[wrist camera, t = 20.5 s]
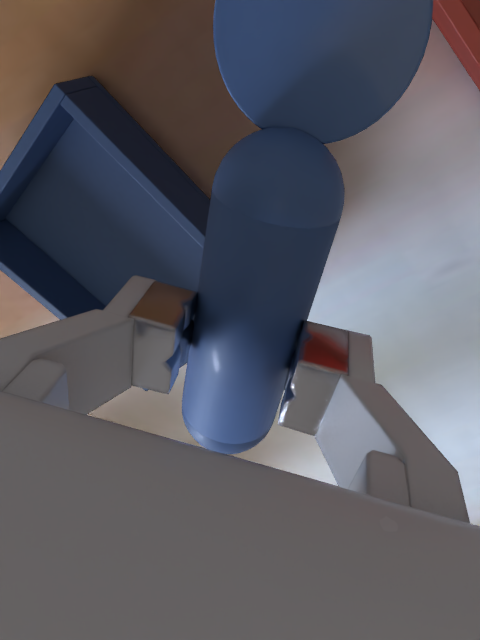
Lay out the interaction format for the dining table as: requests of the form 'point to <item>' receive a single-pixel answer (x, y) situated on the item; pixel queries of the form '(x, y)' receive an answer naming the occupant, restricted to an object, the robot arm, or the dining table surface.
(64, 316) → the blue bin
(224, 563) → the robot arm
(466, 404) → the dining table surface
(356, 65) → the blue spoon
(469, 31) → the red bin
